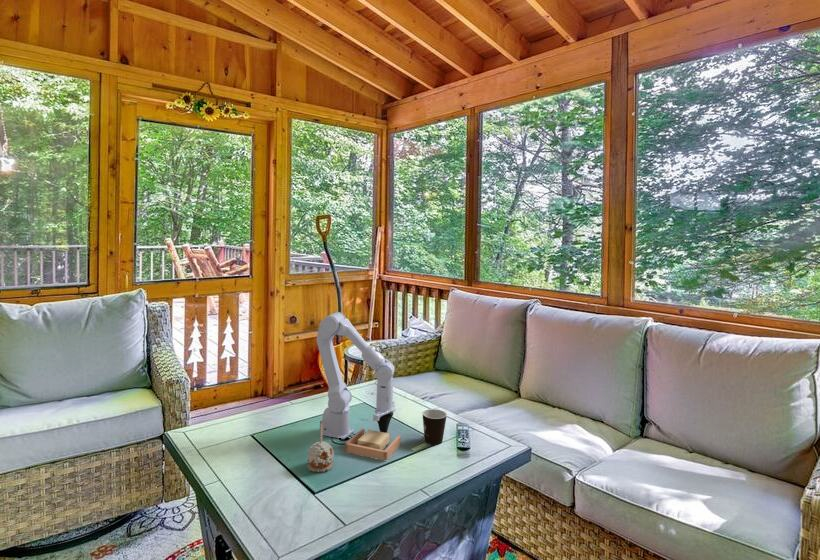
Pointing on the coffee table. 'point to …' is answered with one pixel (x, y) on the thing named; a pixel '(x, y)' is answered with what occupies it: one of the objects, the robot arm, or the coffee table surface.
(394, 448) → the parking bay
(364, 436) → the tan wooden block
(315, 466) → the decorative ornament
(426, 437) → the coffee mug
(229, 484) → the coffee table surface
